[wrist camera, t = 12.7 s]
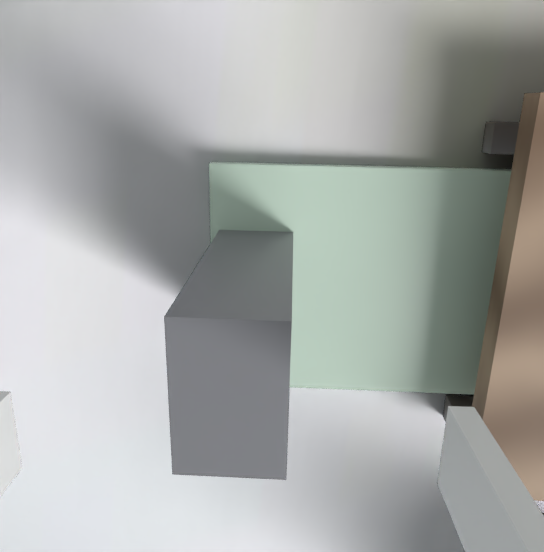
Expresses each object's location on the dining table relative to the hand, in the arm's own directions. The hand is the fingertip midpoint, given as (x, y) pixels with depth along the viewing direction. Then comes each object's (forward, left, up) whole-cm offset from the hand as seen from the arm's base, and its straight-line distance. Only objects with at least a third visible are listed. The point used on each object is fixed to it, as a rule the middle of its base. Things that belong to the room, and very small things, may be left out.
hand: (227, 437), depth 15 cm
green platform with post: (0, -8, -15) cm, 17 cm away
